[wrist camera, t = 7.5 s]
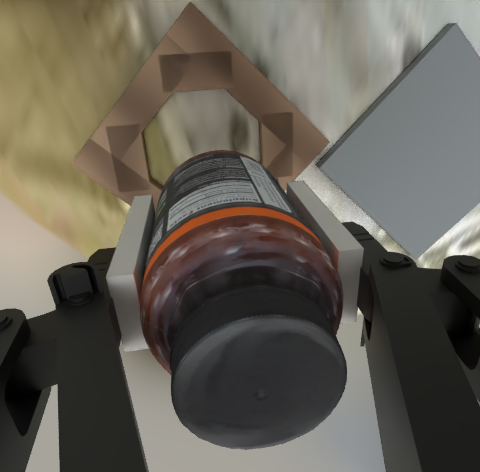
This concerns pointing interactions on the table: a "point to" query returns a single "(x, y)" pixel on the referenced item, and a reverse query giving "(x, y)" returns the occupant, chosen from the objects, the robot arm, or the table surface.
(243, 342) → the supplement bottle
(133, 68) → the table surface
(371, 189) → the slate pad
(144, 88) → the socket board
